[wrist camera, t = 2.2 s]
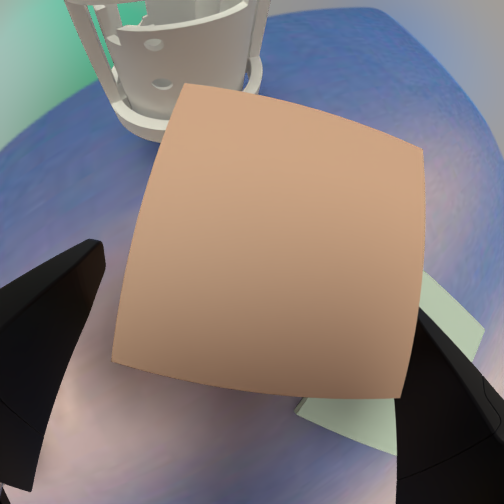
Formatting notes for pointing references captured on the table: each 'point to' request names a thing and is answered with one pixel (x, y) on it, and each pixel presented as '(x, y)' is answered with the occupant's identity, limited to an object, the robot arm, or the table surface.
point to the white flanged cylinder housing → (171, 53)
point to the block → (275, 252)
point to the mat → (383, 410)
